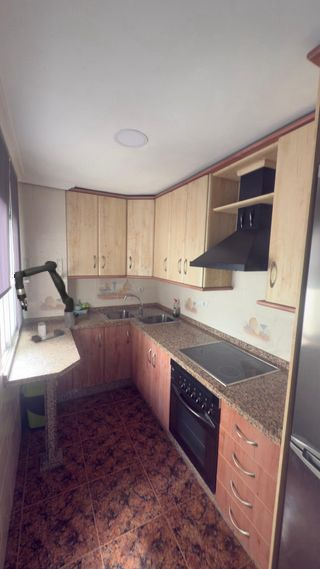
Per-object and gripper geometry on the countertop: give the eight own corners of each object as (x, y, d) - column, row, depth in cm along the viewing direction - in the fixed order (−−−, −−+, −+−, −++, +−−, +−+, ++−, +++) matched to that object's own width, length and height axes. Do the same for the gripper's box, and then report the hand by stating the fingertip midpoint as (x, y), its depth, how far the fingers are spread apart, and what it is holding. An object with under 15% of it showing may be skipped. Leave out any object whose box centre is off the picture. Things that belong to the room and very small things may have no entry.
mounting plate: (58, 332, 238) (58, 328, 238) (65, 335, 229) (65, 331, 229) (29, 340, 217) (29, 336, 216) (36, 344, 208) (35, 340, 207)
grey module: (43, 333, 235) (42, 321, 233) (45, 334, 232) (45, 322, 230) (38, 334, 231) (37, 323, 229) (40, 335, 228) (39, 324, 226)
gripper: (28, 293, 213) (31, 310, 216) (23, 291, 223) (26, 308, 226) (18, 295, 208) (22, 312, 211) (14, 293, 218) (18, 310, 221)
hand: (24, 310), depth 219 cm, fingers open, 8 cm apart
